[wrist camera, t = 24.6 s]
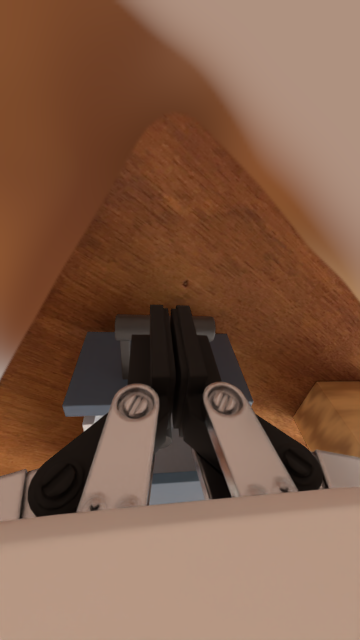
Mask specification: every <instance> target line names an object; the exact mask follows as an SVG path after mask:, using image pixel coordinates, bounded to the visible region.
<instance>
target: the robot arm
mask: <svg viewBox="0 0 360 640" xmlns="http://www.w3.org/2000/svg"><path fill="white" fill-rule="evenodd" d="M171 413H172V420H173V428H174V429H178V431H179V437H183V441H184V442H185V443H187V444H188V445H189V446H190V447H191V454H192V457H193V461H194V464H195V468H196V471H197V475H198V478H199V481H200V485H201V488H202V492H203V495H204V499H205V500H201V501H191V502H180V503H170V504H159V505H149V504H150V496H151V488H152V479H153V471H154V463H155V454H156V452H157V451H158V450H159V449H160V448H161V447H162V445H163V444H164V443H165V442H166V435H167V429H169V428H170V421H171ZM0 640H360V457H355V456H349V455H344V454H338V453H333V452H327V451H322V450H315V451H314V452H311V451H309V450H308V449H307V448H306V447H304V446H303V445H302V444H300V443H299V442H297V441H296V440H294V439H292V438H291V437H289V436H288V435H286V434H285V433H283V432H282V431H280V430H279V429H277V428H276V427H274V426H273V425H271V424H270V423H268V422H267V421H265V420H264V419H262V418H261V417H259V416H258V415H256V414H255V413H254V411H253V409H252V408H251V406H250V404H249V402H248V401H247V399H246V397H245V395H244V394H243V393H242V391H241V390H240V389H238V388H237V387H236V386H234V385H232V384H230V383H226V382H222V380H221V377H220V374H219V371H218V368H217V364H216V361H215V358H214V355H213V352H212V349H211V345H210V342H209V339H208V337H207V335H197V333H196V330H195V326H194V322H193V318H192V314H191V310H190V307H189V306H183V305H177V306H176V309H171V318H170V321H169V312H168V308H163V305H150V335H133V334H132V338H131V349H130V360H129V372H128V383H127V386H125V387H123V388H121V389H120V390H119V391H118V392H117V393H116V394H115V396H114V398H113V400H112V403H111V406H110V409H109V412H108V413H107V414H105V415H104V416H103V417H102V418H100V419H99V420H98V421H97V422H95V423H94V424H93V425H92V426H90V427H89V428H88V429H87V430H85V431H84V432H83V433H82V434H80V435H79V436H78V437H76V438H75V439H74V440H73V441H71V442H70V443H69V444H68V445H66V446H65V447H64V448H63V449H61V450H60V451H59V452H58V453H56V454H55V455H54V456H53V457H51V458H50V459H49V460H48V461H46V462H45V463H44V464H43V465H42V466H41V467H40V468H39V469H36V470H32V471H29V472H27V470H26V469H24V470H21V471H17V472H14V473H11V474H7V475H4V476H0Z"/></svg>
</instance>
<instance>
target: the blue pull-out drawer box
mask: <svg viewBox="0 0 360 640" xmlns="http://www.w3.org/2000/svg"><path fill="white" fill-rule="evenodd" d="M170 318H171V316H169V321H170ZM192 318H193V322H194V326H195V330H196V333H197V335H207V337H208V339H209V342H210V345H211V349H212V352H213V355H214V358H215V361H216V364H217V368H218V371H219V374H220V377H221V380H222V382H226V383H230V384H232V385H234V386H236V387H237V388H238V389H240V390H241V391H242V393H243V394H244V395H245V397H246V399H247V401H248V402H249V404H250V406H251V405H252V403H253V399H252V397H251V394H250V392H249V389H248V387H247V384H246V382H245V379H244V377H243V374H242V372H241V369H240V367H239V364H238V361H237V359H236V356H235V354H234V351H233V349H232V346H231V344H230V341H229V339H228V336H227V334H215V321H214V318H213V317H209V316H192ZM132 334H133V335H150V315H129V314H117V315H116V318H115V332H87V335H86V338H85V340H84V343H83V346H82V349H81V352H80V355H79V358H78V361H77V364H76V367H75V370H74V373H73V376H72V379H71V382H70V385H69V388H68V391H67V393H66V396H65V399H64V402H63V405H62V407H63V410H64V413H65V416H66V417H70V416H84V420H83V424H82V426H83V430H84V431H85V430H87V429H88V428H89V427H90V426H92V425H93V424H94V423H95V422H97V421H98V420H99V419H100V418H102V417H103V416H104V415H105V414H107V413H108V412H109V409H110V406H111V403H112V400H113V398H114V396H115V394H116V393H117V392H118V391H119V390H120V389H121V388H123V387H125V386H127V383H128V372H129V360H130V349H131V338H132ZM171 430H172V443H171V445H170V446H168V447H166V448H163V449H159V450H158V451H157V452H156V454H155V463H154V471H153V474H154V473H169V472H185V471H196V468H195V464H194V461H193V457H192V454H191V447H190V446H189V445H188V444H187V443H185V442H184V441H183V437H179V431H178V429H174V428H173V420H172V413H171Z"/></svg>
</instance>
